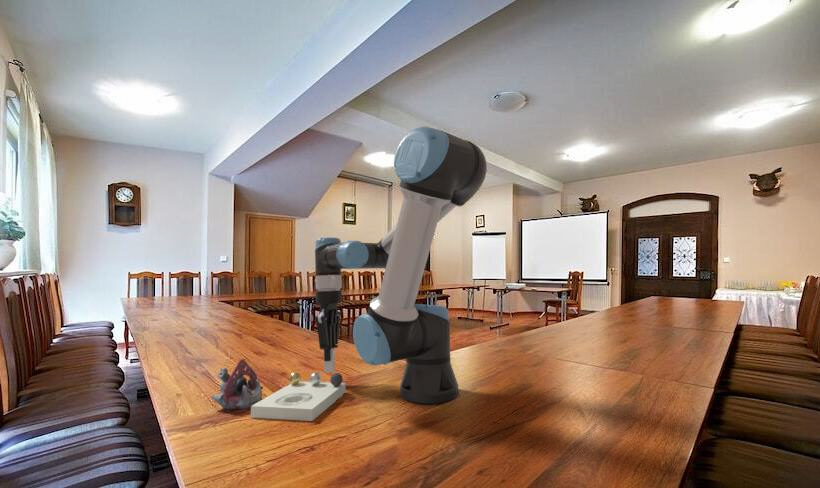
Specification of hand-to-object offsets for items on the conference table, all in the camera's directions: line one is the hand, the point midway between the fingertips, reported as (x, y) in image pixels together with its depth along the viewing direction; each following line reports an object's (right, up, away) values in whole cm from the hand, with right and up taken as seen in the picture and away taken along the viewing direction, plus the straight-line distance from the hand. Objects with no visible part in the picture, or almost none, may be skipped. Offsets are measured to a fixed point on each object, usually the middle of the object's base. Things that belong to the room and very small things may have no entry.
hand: (329, 371), depth 104 cm
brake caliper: (-19, -3, -14) cm, 24 cm away
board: (-3, -2, -16) cm, 16 cm away
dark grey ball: (+4, +1, -10) cm, 11 cm away
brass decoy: (-8, +1, -7) cm, 11 cm away
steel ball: (-2, +1, -9) cm, 9 cm away
